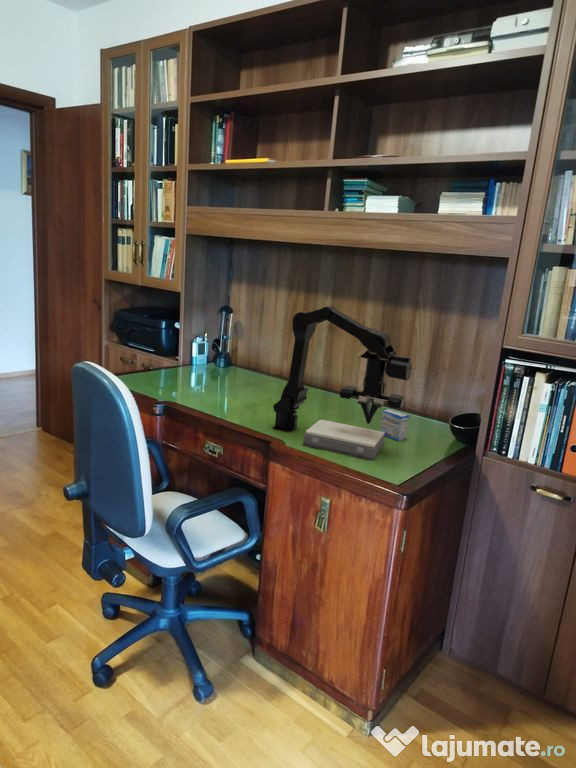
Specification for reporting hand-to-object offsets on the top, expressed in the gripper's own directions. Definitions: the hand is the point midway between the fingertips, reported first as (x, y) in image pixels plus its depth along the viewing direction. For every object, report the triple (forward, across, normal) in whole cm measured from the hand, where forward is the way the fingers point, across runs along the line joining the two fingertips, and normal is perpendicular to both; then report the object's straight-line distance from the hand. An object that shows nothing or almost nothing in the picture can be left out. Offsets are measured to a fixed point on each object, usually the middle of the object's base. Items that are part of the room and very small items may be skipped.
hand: (368, 423), depth 162 cm
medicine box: (+9, -5, -17) cm, 19 cm away
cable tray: (+8, +7, +1) cm, 11 cm away
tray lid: (+5, +7, 0) cm, 8 cm away
